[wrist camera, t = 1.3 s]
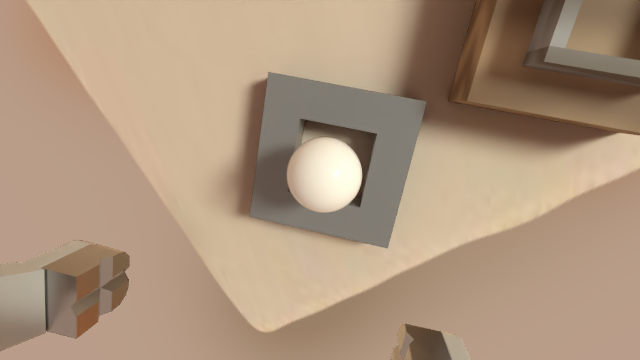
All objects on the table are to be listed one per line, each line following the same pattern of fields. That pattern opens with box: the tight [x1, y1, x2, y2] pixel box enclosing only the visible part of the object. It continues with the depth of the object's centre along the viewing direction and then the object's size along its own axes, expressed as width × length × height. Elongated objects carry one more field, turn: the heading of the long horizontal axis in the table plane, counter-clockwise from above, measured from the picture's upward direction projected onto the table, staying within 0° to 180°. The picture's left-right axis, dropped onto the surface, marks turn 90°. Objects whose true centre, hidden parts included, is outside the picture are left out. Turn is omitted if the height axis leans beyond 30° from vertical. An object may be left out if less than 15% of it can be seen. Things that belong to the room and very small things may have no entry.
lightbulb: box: [286, 137, 362, 213], centre depth 28 cm, size 6×6×11 cm
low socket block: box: [250, 72, 427, 248], centre depth 32 cm, size 15×15×3 cm
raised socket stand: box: [448, 0, 640, 135], centre depth 23 cm, size 16×16×9 cm
